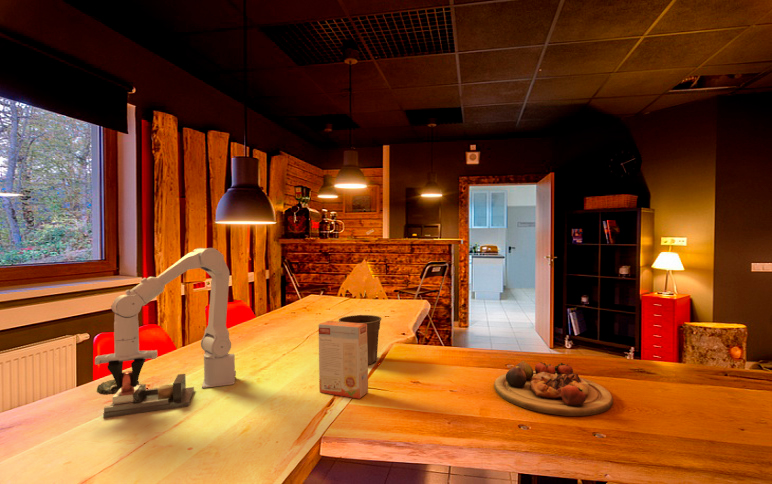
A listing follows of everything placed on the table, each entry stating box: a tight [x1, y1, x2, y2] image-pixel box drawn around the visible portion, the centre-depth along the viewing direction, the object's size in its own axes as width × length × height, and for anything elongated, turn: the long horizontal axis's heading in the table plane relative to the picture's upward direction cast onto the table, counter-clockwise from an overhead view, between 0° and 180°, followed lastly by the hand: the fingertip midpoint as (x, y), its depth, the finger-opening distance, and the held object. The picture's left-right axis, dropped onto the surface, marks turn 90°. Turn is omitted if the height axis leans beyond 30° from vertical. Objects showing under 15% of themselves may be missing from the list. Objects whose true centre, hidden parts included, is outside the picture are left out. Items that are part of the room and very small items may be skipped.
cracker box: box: [318, 320, 369, 400], centre depth 117 cm, size 14×6×21 cm, turn 65°
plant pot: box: [338, 314, 382, 365], centre depth 148 cm, size 16×16×16 cm
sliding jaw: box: [111, 370, 147, 406], centre depth 109 cm, size 6×8×8 cm
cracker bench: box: [102, 373, 195, 419], centre depth 111 cm, size 20×12×6 cm, turn 109°
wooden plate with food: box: [493, 360, 614, 417], centre depth 115 cm, size 32×32×8 cm
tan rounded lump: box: [157, 384, 173, 400], centre depth 112 cm, size 4×4×3 cm
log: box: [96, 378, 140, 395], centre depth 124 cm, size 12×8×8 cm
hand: (127, 386), depth 109 cm, fingers closed on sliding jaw, 3 cm apart
